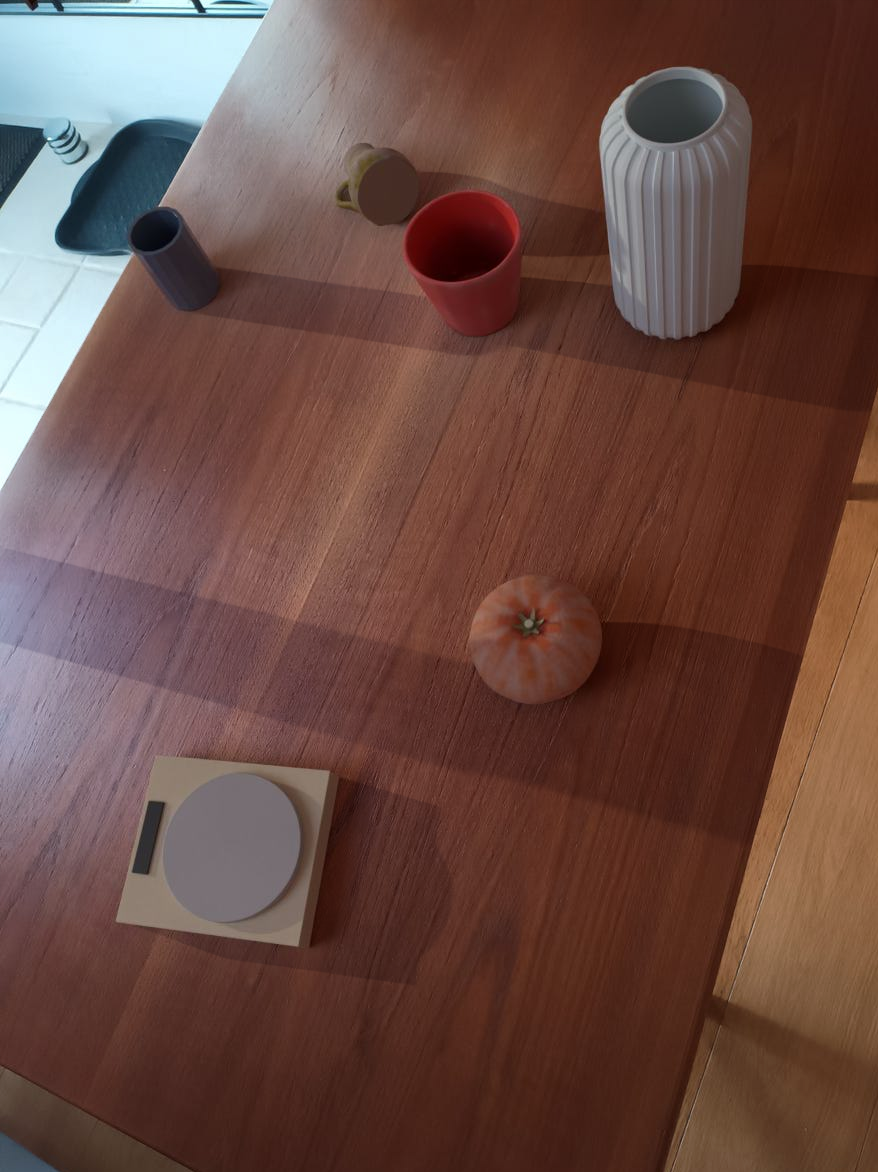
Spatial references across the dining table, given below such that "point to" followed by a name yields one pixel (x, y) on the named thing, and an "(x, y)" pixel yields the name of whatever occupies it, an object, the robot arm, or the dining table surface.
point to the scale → (230, 850)
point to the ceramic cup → (173, 258)
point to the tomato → (535, 639)
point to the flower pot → (467, 259)
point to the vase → (676, 199)
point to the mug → (379, 184)
